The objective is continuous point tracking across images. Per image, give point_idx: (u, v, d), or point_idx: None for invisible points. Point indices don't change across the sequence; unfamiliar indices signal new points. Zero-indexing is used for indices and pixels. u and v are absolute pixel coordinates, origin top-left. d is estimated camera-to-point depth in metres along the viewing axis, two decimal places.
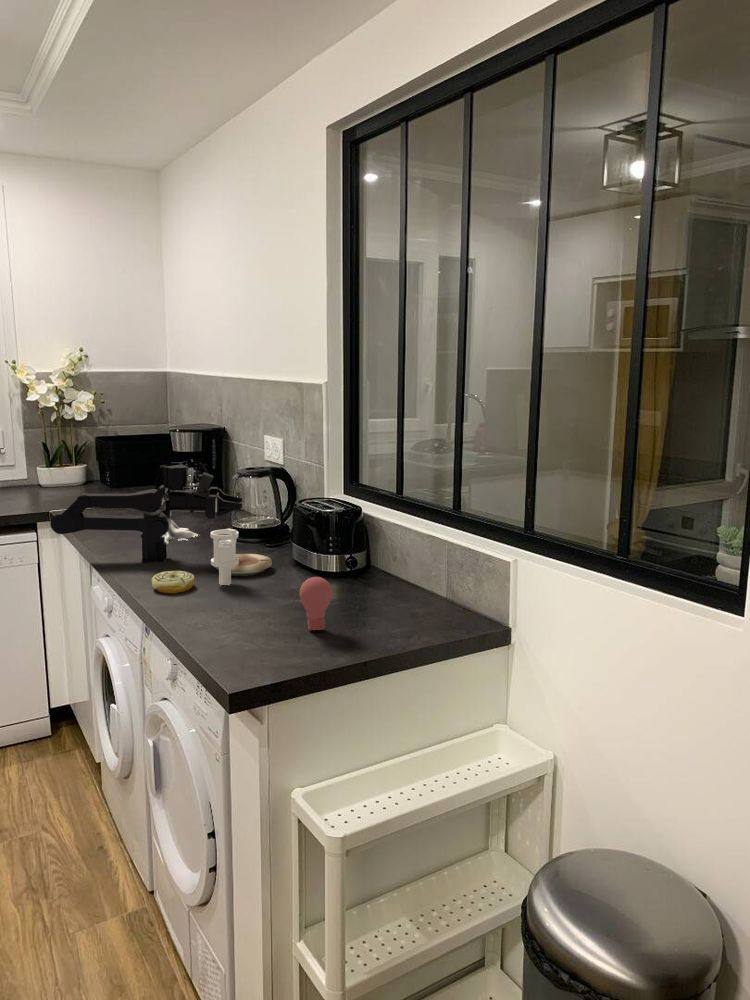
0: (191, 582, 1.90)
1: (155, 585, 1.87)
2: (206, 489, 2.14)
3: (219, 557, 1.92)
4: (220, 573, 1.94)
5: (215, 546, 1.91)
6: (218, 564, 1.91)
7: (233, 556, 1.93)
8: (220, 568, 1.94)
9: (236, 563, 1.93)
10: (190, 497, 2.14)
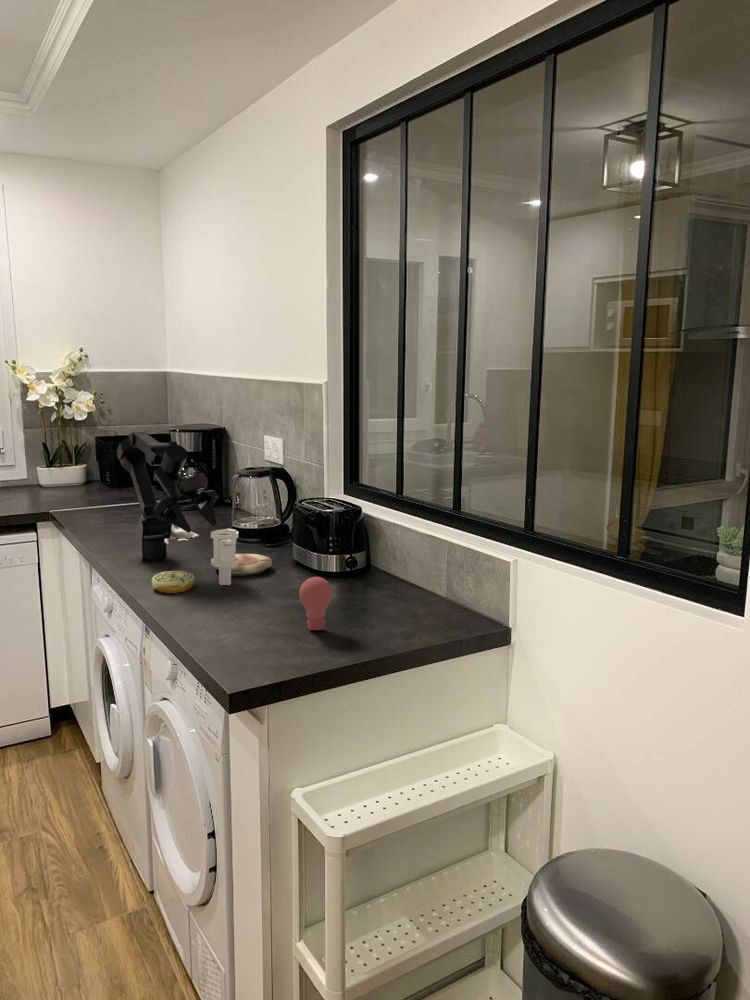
0: (191, 582, 1.90)
1: (155, 585, 1.87)
2: (184, 490, 1.96)
3: (219, 557, 1.92)
4: (220, 573, 1.94)
5: (215, 546, 1.91)
6: (218, 564, 1.91)
7: (233, 556, 1.93)
8: (220, 568, 1.94)
9: (236, 563, 1.93)
10: (170, 483, 1.98)
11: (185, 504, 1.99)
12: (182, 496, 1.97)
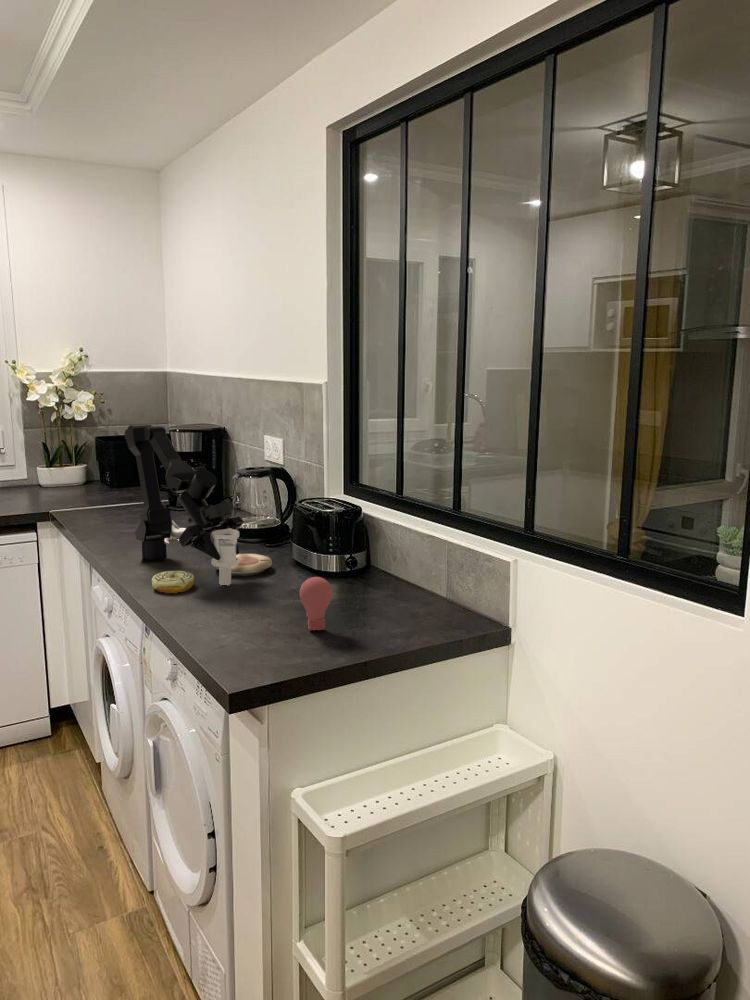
0: (191, 582, 1.90)
1: (155, 585, 1.87)
2: (209, 517, 1.92)
3: None
4: (220, 573, 1.94)
5: (216, 546, 1.91)
6: (218, 564, 1.91)
7: (233, 556, 1.93)
8: (220, 568, 1.94)
9: (236, 563, 1.93)
10: (196, 510, 1.94)
11: (210, 531, 1.95)
12: (207, 523, 1.93)
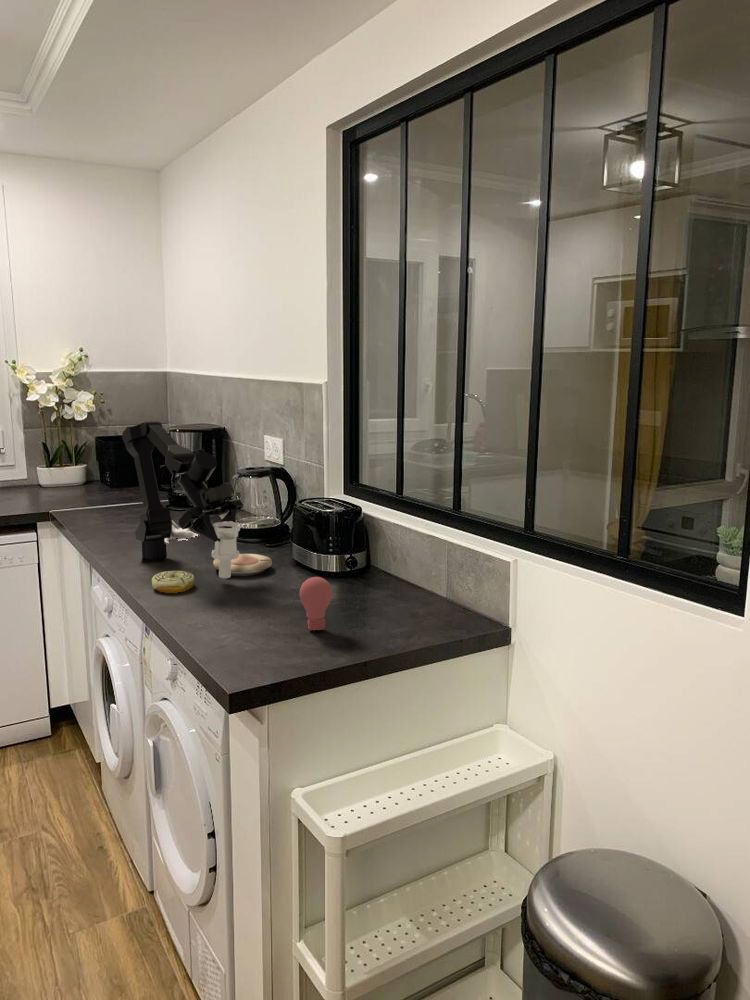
0: (191, 582, 1.90)
1: (155, 585, 1.87)
2: (209, 500, 1.91)
3: (220, 550, 1.91)
4: (220, 565, 1.93)
5: None
6: (219, 557, 1.91)
7: (234, 549, 1.92)
8: (220, 560, 1.93)
9: (237, 556, 1.93)
10: (195, 492, 1.93)
11: (210, 514, 1.94)
12: (207, 506, 1.92)
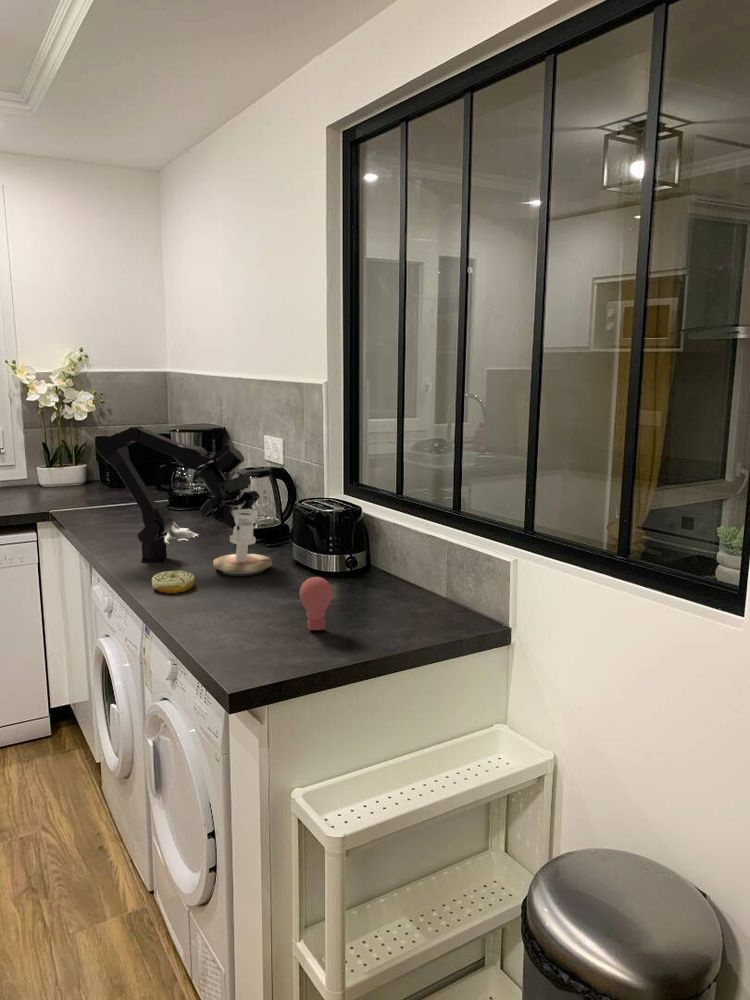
0: (191, 582, 1.90)
1: (155, 585, 1.87)
2: (228, 491, 2.05)
3: (238, 535, 2.04)
4: (237, 550, 2.06)
5: None
6: (237, 541, 2.04)
7: (251, 535, 2.06)
8: (238, 545, 2.06)
9: (253, 541, 2.06)
10: (215, 484, 2.07)
11: (229, 504, 2.07)
12: (226, 496, 2.05)
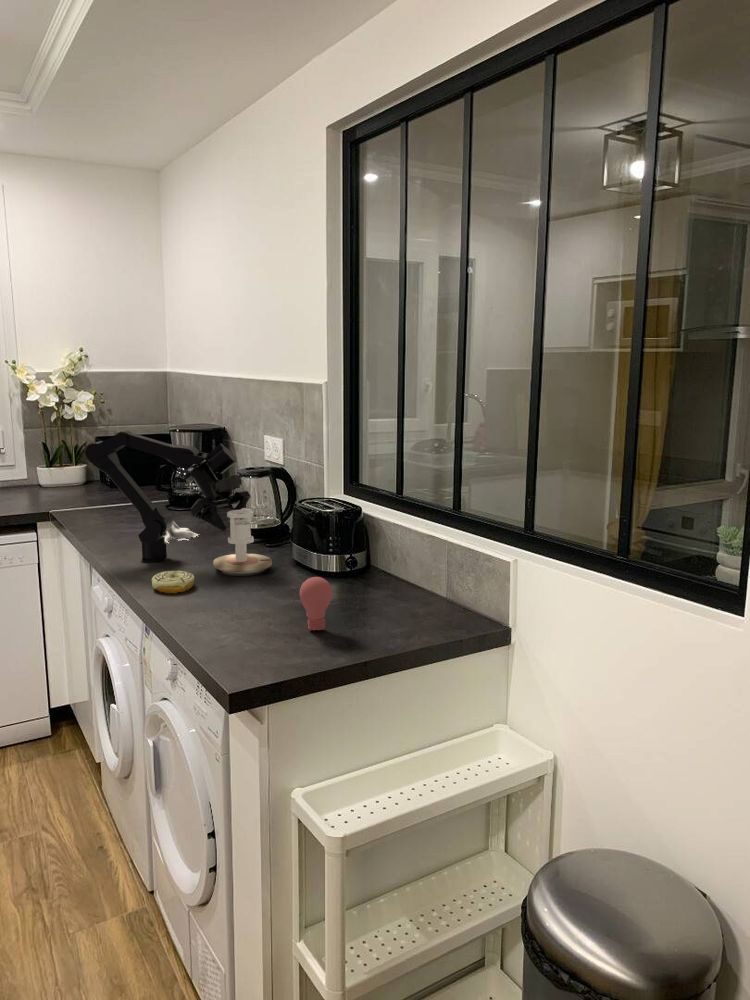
0: (191, 582, 1.90)
1: (155, 585, 1.87)
2: (219, 491, 2.06)
3: (236, 535, 2.04)
4: (236, 550, 2.07)
5: (232, 524, 2.03)
6: (235, 541, 2.04)
7: (249, 534, 2.06)
8: (236, 545, 2.06)
9: (251, 540, 2.06)
10: (206, 484, 2.09)
11: (220, 504, 2.09)
12: (217, 496, 2.07)
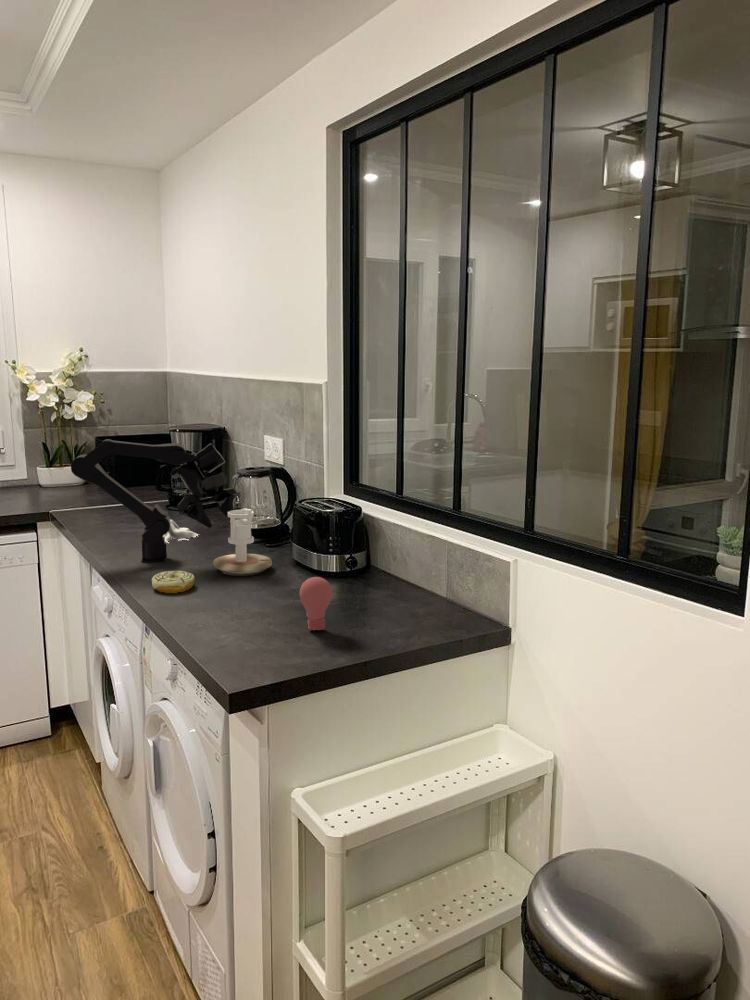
0: (191, 582, 1.90)
1: (155, 585, 1.87)
2: (205, 488, 2.09)
3: (236, 535, 2.04)
4: (237, 550, 2.07)
5: (232, 525, 2.03)
6: (235, 542, 2.04)
7: (249, 534, 2.06)
8: (237, 546, 2.06)
9: (252, 541, 2.06)
10: (193, 481, 2.12)
11: (206, 501, 2.12)
12: (204, 494, 2.10)
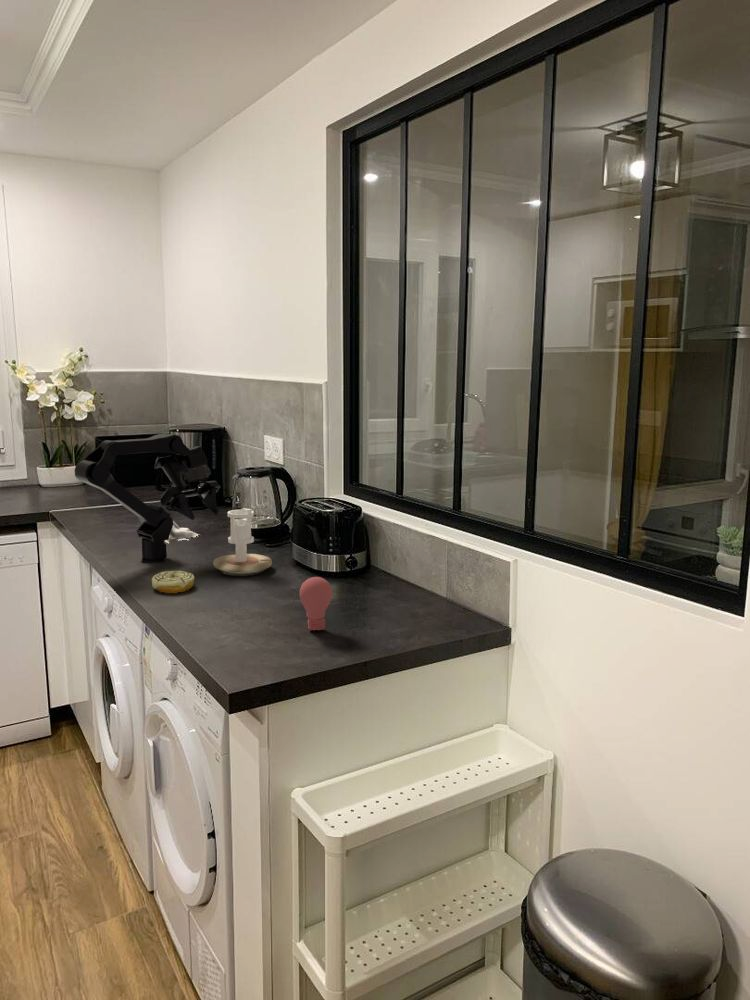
0: (191, 582, 1.90)
1: (155, 585, 1.87)
2: (188, 481, 2.12)
3: (236, 535, 2.04)
4: (237, 550, 2.07)
5: (232, 524, 2.03)
6: (235, 541, 2.04)
7: (249, 534, 2.06)
8: (237, 545, 2.06)
9: (252, 540, 2.06)
10: (176, 474, 2.14)
11: (189, 493, 2.14)
12: (186, 486, 2.13)
